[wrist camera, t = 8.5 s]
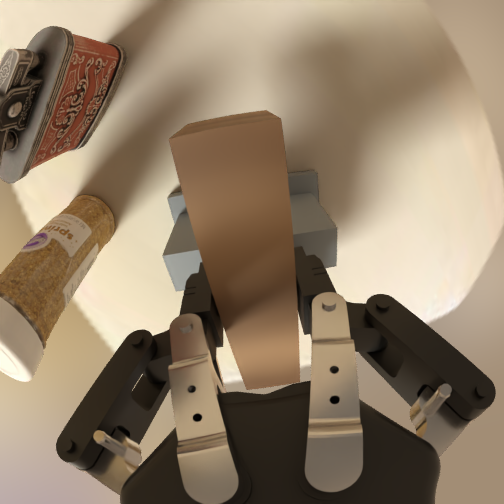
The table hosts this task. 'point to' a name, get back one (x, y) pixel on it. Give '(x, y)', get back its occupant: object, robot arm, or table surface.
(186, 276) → the fulcrum
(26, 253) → the sprinkles bottle
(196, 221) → the walnut bar
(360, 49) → the table surface
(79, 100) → the lighter
